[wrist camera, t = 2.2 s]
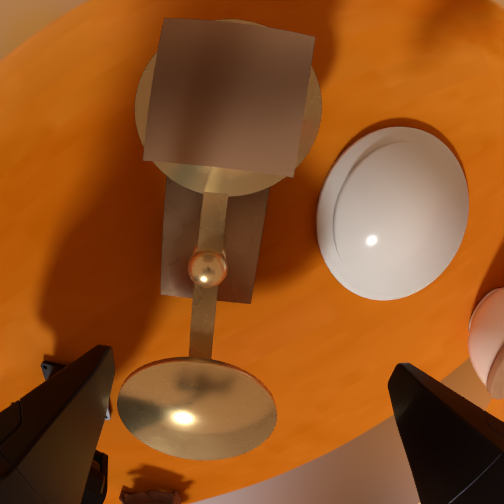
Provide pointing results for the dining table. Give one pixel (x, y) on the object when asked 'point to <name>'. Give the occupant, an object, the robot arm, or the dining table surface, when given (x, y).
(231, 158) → the block
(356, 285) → the dish
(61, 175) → the dining table surface
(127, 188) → the dining table surface
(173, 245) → the balance
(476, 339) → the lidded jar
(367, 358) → the dining table surface
